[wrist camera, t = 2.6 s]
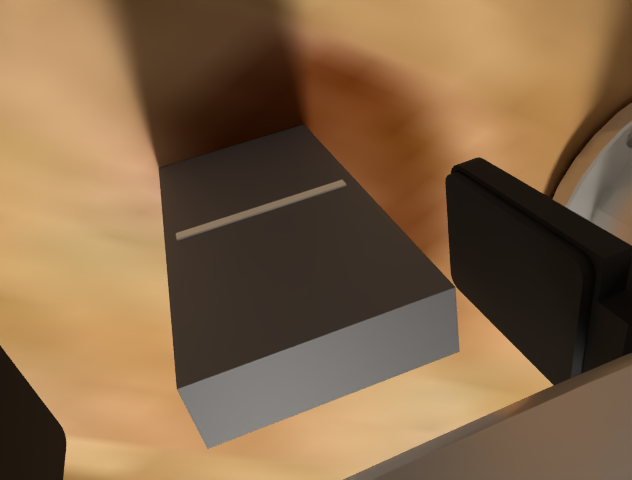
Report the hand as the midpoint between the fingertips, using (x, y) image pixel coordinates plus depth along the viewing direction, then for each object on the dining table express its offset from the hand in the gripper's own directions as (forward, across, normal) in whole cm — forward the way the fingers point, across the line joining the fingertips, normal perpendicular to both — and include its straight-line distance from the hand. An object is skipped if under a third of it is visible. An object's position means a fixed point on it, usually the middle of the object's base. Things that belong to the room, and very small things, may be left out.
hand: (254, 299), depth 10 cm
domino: (+8, -1, 0) cm, 8 cm away
